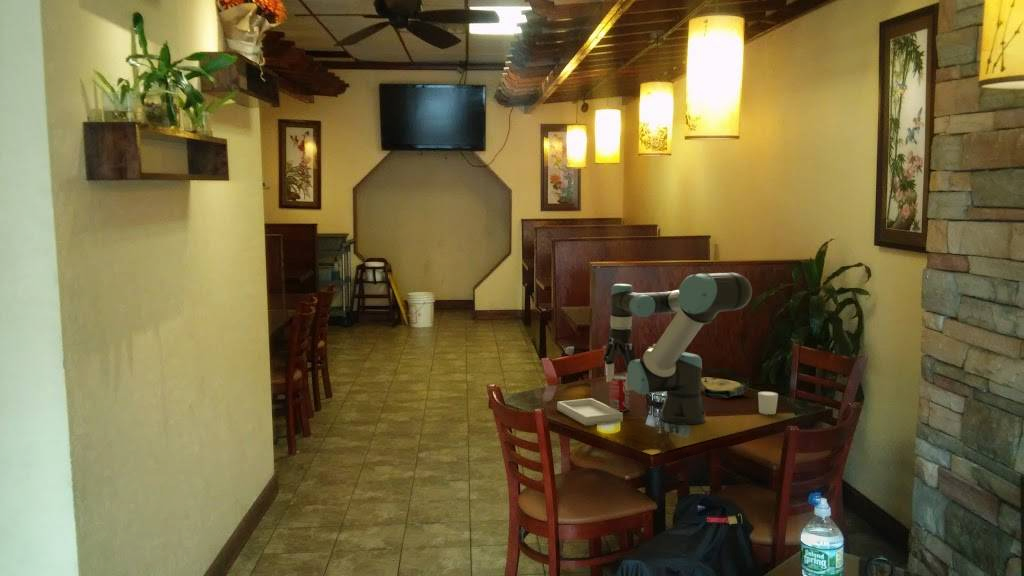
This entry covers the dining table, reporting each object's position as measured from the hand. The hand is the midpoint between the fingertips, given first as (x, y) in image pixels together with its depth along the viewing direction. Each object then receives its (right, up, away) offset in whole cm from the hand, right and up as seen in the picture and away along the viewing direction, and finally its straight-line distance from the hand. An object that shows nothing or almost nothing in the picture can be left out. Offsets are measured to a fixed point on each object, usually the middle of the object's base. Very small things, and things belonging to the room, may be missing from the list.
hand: (619, 386), depth 298 cm
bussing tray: (-12, -9, -8) cm, 17 cm away
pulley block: (+41, -6, +30) cm, 51 cm away
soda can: (0, -9, +1) cm, 9 cm away
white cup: (+52, -9, -2) cm, 53 cm away
